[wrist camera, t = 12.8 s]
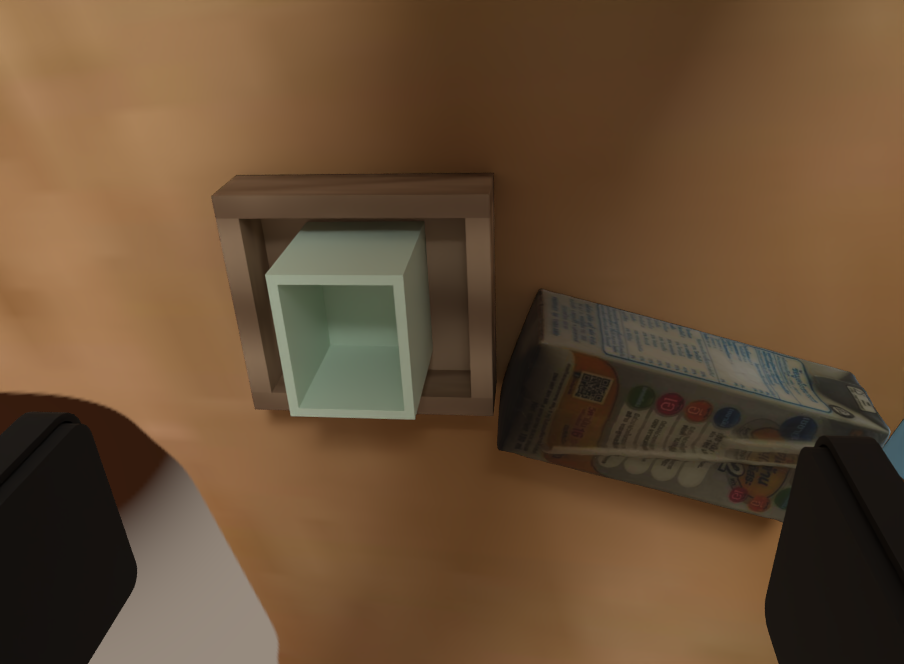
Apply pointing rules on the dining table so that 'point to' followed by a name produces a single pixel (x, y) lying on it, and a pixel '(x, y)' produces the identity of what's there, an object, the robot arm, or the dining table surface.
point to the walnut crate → (367, 200)
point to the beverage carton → (671, 405)
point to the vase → (896, 449)
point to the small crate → (353, 319)
